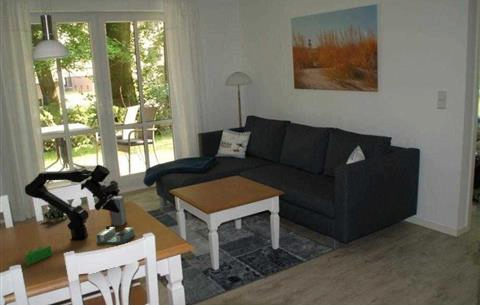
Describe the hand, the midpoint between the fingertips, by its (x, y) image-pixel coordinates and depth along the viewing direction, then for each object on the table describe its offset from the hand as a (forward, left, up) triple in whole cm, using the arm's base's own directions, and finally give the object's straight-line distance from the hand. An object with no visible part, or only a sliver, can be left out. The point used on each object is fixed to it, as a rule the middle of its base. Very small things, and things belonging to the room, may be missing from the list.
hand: (121, 210), depth 203 cm
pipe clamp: (-31, -23, -14) cm, 41 cm away
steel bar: (-1, 0, -7) cm, 7 cm away
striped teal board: (-3, -3, -13) cm, 14 cm away
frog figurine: (-50, +27, -14) cm, 58 cm away
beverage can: (-10, +19, -14) cm, 25 cm away
